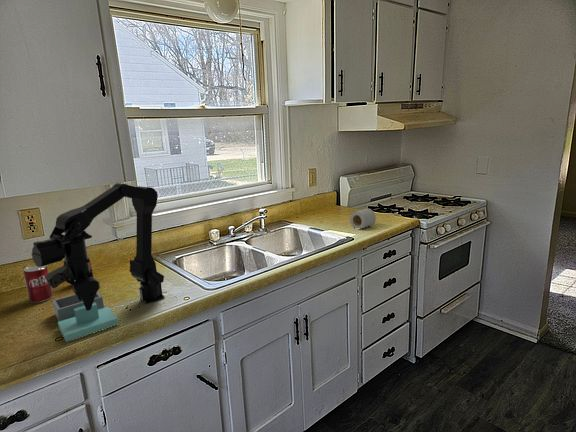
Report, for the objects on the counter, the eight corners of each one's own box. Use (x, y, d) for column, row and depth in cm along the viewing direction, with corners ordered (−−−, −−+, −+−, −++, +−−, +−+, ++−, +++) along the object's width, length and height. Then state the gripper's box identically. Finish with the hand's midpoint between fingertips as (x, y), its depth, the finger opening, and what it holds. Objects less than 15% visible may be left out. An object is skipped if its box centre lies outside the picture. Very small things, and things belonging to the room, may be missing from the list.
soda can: (25, 300, 137) (18, 269, 135) (47, 293, 143) (41, 262, 140) (35, 305, 133) (28, 273, 131) (57, 297, 139) (50, 266, 136)
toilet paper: (364, 231, 207) (364, 213, 205) (349, 227, 214) (349, 210, 212) (375, 227, 214) (375, 209, 211) (361, 224, 221) (361, 207, 218)
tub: (97, 301, 134) (95, 288, 133) (104, 310, 128) (102, 296, 127) (54, 314, 126) (52, 300, 125) (60, 324, 120) (57, 309, 119)
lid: (108, 313, 126) (105, 293, 124) (118, 324, 118) (115, 304, 117) (59, 328, 117) (55, 308, 116) (66, 342, 109) (61, 321, 108)
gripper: (39, 255, 114) (48, 303, 118) (50, 272, 100) (60, 326, 104) (80, 246, 121) (88, 292, 125) (96, 261, 107) (104, 312, 111)
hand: (84, 304), depth 116 cm, fingers open, 9 cm apart
